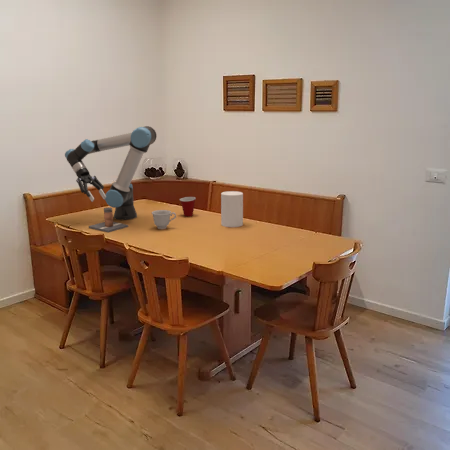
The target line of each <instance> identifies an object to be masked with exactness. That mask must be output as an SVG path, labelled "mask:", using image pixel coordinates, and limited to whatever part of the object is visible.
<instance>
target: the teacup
mask: <svg viewBox="0 0 450 450" xmlns="http://www.w3.org/2000/svg"><path fill="white" fill-rule="evenodd" d="M151 214H152V217H153V222H154V223H153V224H154V225H155V226H156V227H157V229H158V230H165V229H167V228H168V226H169V224H170V222H171V221H174V220H176V219H177V214H176V212H172V211H171V210H169V209H168V210H167V209H157V210H153V211H151ZM173 215H174V217H173V218H171V217H172V216H173Z"/></svg>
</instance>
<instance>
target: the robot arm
mask: <svg viewBox="0 0 450 450" xmlns="http://www.w3.org/2000/svg"><path fill="white" fill-rule="evenodd" d="M156 140H157V132H156V130H155V129H154V128H153V127H151V126H147V125H146V126H139V127H136V128H135V129H134V130H132V132H128V133H122V134H119V135H113V136H109V137H104V138H99V139H95V140H90V139H88V138H87V139H86V138H85V139H84V140H83V141H81V142H80V144H79V145H78V146H77V147H76V148H75V149H74V148H70V149H68V150H66V151H65V153H64V157H65V159H66V162H68V164H69V165H70V166H71V169H72V170H73V172H74V173H75V175H76V177H77V178H76V180H75V182H76V183H77V184H78V187H79V189H80V190H79V191H80V192H81V193H82V194H84V195H86V196H87V197H88V199H89V200H90V201H91V203H93V202H94V201H95V197H94V195H93V194H92V193H91V191H90V190H89V189H88V184H90V185H92V186H93V187H94V188H95V189H96V190H98V193H99V194H100V196H101V197H102V199H103V200H105V202H106V205H108V206H109V207H110V208H115V209H114V213H113V220H114V219H115V220H118V221H126V220H133V219H136V218H137V217H138V214H137V211H136V208H135V206H134V204H135V201H134V188H133V187H134V186H133V184H132V180H133V178H134V176H135V174H136V171H137V169H138V166H139V164H140V163H141V159H142V158H143V156H144V154H146V153H148V150H149V149H150V146H151V145H152V144H154V143H155V142H156ZM128 146H129V150H128V152H127V155H126V157H125V159H124V162H123V164H122V166H121V169H120V171H119V173H118V175H117V178H116V180H115V181H114V182H112V183H111V186H110V188H109V190H108V191H106V193H105V191H104V190H103V189H105V186H104V185H103V184H102V182H100V180H99V179H98V177H97V176H96V175H94V176H92V175H91V174H90V171H89V169H88V168H87V167H86V165H85V163H84V162H83V160H84V158H86V157H87V156H88V155H90V154H95V153H98V152H99V153H100V152H105V151H109V150H113V149H119V148H123V147H128Z"/></svg>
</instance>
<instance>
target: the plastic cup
mask: <svg viewBox="0 0 450 450" xmlns="http://www.w3.org/2000/svg"><path fill="white" fill-rule="evenodd" d="M179 201H180V204H181V207H182V212H183V216H184V217H189V218H190V217H193V215H194V209H195V203H196V197H195V196H185V197H182V198H179Z"/></svg>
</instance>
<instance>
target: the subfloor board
mask: <svg viewBox="0 0 450 450" xmlns="http://www.w3.org/2000/svg"><path fill="white" fill-rule="evenodd" d="M126 228H129V224H126V223H121V222H117V221H113V226H112V227H105V221H104V222H99V223H95V224H91V225H88V229H92V230H95V231H101V232H104V233H111V232H115V231H118V230H122V229H126Z"/></svg>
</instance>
